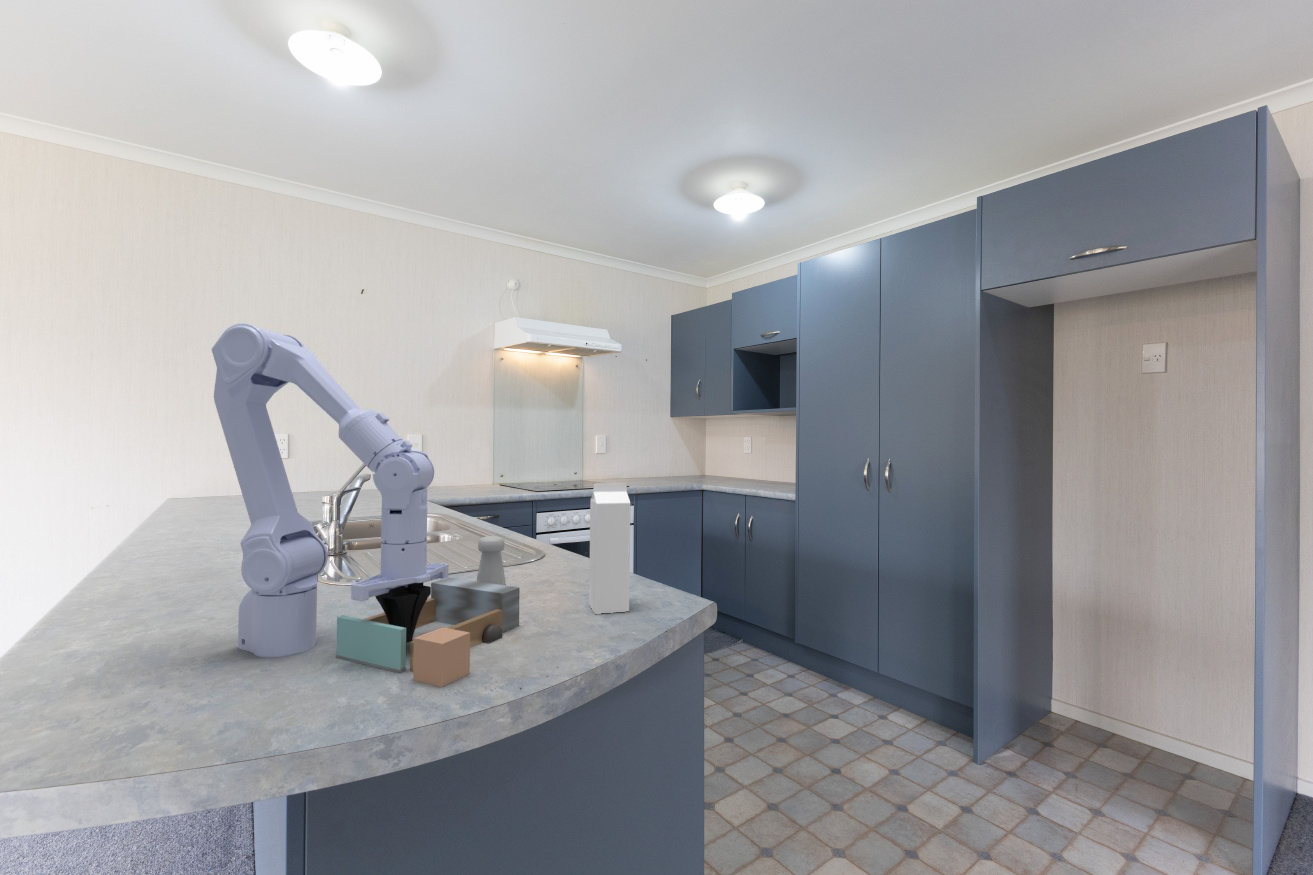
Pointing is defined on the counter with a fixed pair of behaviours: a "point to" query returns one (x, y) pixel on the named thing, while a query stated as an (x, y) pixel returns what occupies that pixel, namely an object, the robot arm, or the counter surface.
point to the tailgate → (371, 643)
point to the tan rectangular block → (441, 656)
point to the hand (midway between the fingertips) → (402, 641)
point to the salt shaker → (491, 560)
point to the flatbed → (468, 609)
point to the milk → (609, 548)
